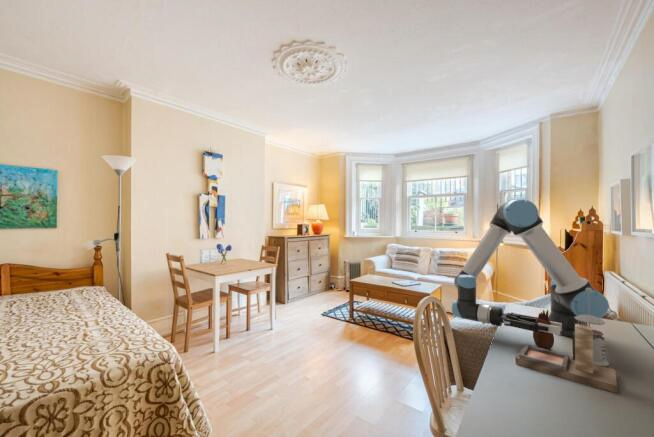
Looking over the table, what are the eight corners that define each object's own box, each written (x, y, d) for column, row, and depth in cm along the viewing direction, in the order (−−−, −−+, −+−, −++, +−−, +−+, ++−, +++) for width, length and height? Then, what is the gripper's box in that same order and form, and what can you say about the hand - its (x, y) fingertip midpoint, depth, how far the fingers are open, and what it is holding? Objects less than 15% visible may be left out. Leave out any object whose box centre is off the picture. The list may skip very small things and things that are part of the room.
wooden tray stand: (515, 363, 96) (515, 318, 97) (523, 352, 106) (522, 311, 106) (617, 393, 80) (616, 338, 80) (615, 376, 89) (614, 327, 90)
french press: (579, 362, 98) (578, 289, 99) (564, 349, 109) (563, 283, 110) (616, 367, 94) (614, 291, 95) (597, 353, 105) (596, 285, 106)
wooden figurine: (557, 352, 106) (556, 311, 106) (539, 351, 107) (539, 310, 107) (547, 345, 112) (546, 306, 113) (530, 343, 113) (530, 305, 114)
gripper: (496, 319, 129) (563, 333, 113) (484, 329, 116) (558, 346, 99) (496, 302, 129) (563, 313, 113) (484, 310, 116) (558, 324, 100)
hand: (560, 329), depth 106 cm, fingers closed on wooden figurine, 5 cm apart
